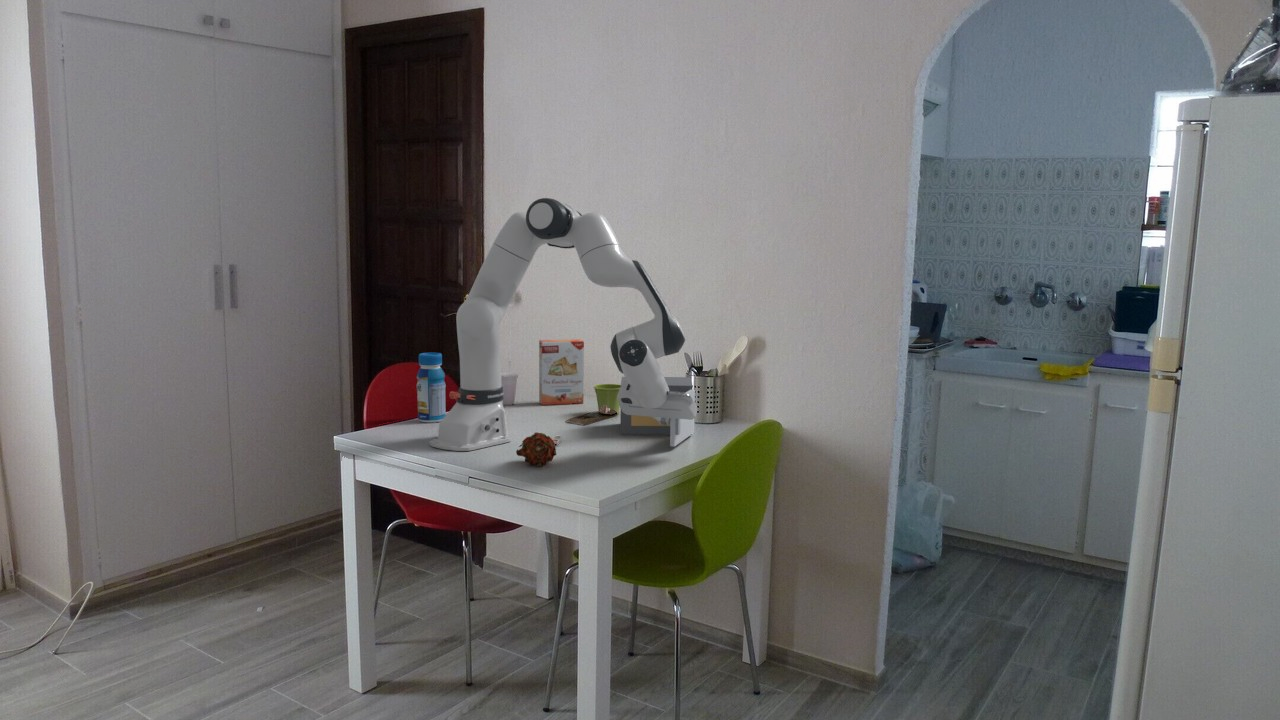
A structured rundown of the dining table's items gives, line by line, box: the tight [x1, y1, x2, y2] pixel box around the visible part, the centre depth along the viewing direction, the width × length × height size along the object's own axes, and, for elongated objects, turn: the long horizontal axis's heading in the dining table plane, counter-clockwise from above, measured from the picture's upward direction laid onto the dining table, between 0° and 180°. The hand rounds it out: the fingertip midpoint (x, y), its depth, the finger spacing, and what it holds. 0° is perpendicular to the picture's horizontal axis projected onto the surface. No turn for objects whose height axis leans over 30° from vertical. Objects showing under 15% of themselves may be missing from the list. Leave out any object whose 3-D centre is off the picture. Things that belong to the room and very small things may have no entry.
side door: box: [669, 389, 696, 448], centre depth 248 cm, size 2×18×12 cm, turn 160°
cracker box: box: [538, 338, 585, 406], centre depth 301 cm, size 14×6×21 cm, turn 105°
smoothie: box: [501, 360, 519, 406], centre depth 300 cm, size 6×6×14 cm
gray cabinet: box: [620, 376, 694, 436], centre depth 264 cm, size 14×20×15 cm
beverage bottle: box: [415, 352, 447, 424], centre depth 274 cm, size 8×8×20 cm
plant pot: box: [592, 383, 621, 415], centre depth 286 cm, size 9×9×9 cm
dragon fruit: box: [515, 432, 557, 467], centre depth 226 cm, size 8×8×12 cm
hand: (665, 422), depth 242 cm, fingers closed
